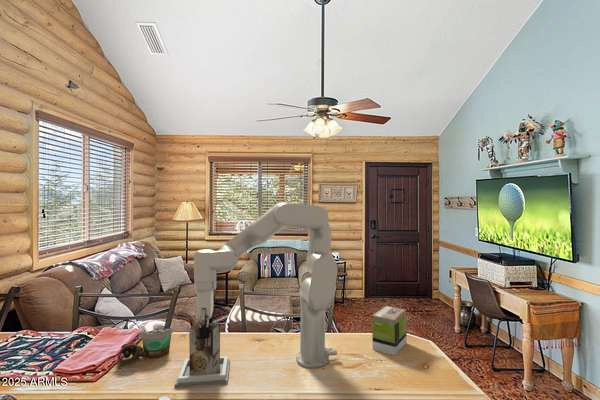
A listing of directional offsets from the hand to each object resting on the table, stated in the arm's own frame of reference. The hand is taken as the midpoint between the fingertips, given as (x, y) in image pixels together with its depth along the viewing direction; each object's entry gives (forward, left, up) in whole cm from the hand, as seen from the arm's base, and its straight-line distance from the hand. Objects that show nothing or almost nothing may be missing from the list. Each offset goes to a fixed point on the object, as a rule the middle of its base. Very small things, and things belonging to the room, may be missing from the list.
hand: (206, 332), depth 115 cm
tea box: (-74, -11, -15) cm, 77 cm away
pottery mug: (+29, -12, -15) cm, 35 cm away
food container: (+21, -16, -15) cm, 30 cm away
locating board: (+1, 0, -15) cm, 14 cm away
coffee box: (0, 0, -14) cm, 14 cm away
